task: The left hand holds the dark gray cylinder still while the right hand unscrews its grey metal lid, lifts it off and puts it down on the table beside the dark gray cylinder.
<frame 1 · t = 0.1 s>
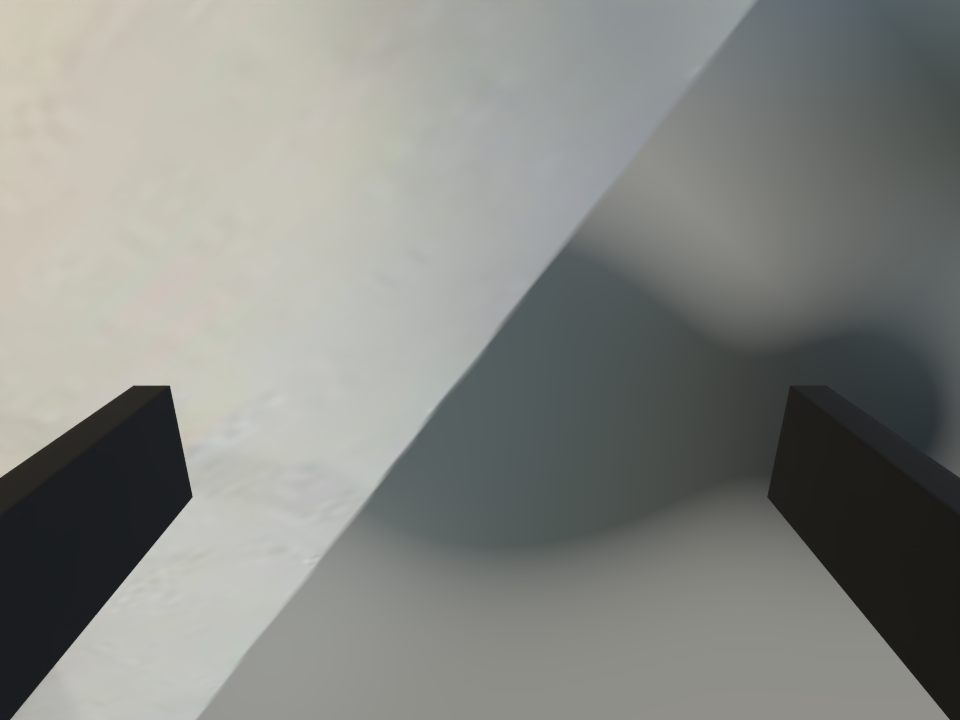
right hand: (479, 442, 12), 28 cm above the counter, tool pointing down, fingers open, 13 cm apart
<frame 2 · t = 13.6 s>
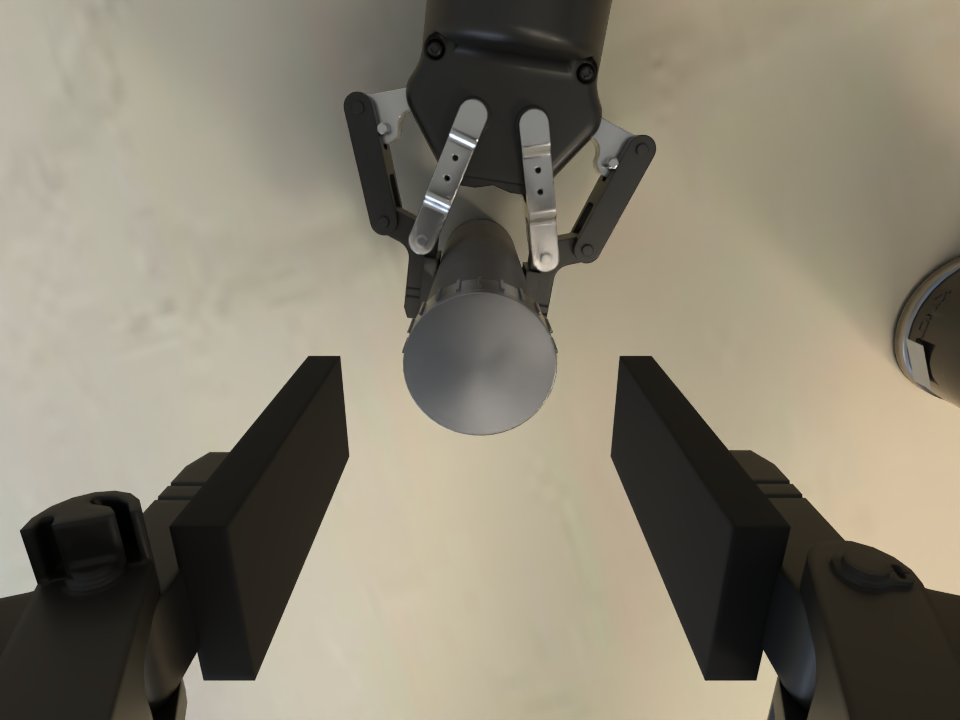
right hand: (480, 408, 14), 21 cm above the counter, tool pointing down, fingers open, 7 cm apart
left hand: (471, 331, 29), fingers closed on dark gray cylinder, 4 cm apart
lid: (480, 363, 17), point 18 cm above the counter, screwed on, not yet turned
dark gray cylinder: (480, 254, 34), on the counter, touching left hand
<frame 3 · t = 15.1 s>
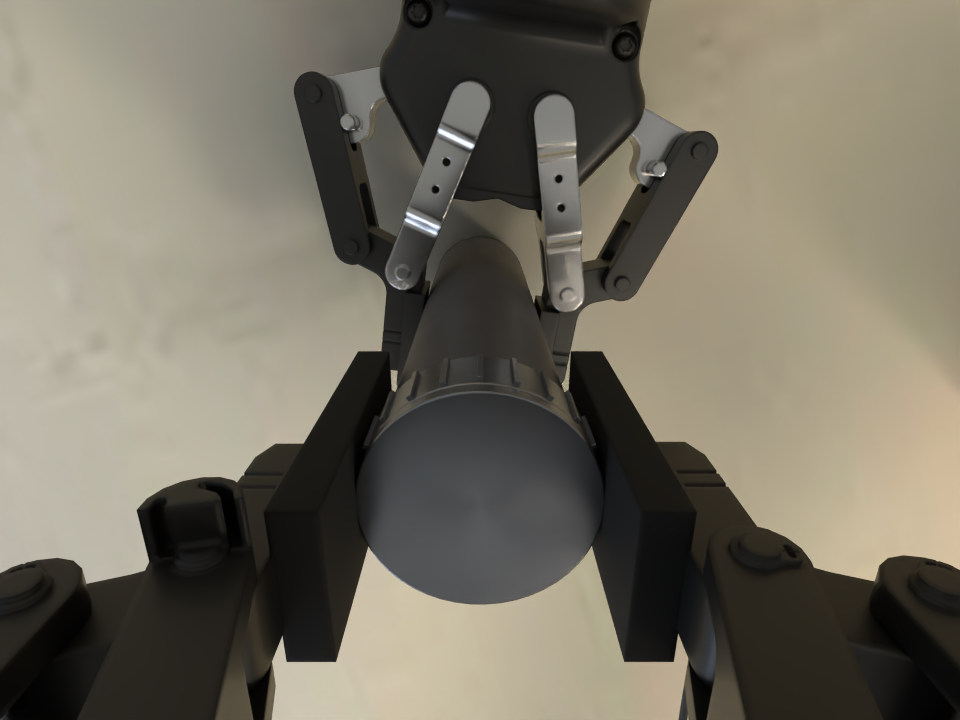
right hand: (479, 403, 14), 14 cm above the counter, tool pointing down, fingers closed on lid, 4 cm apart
left hand: (469, 385, 22), fingers closed on dark gray cylinder, 4 cm apart
lid: (479, 495, 11), point 18 cm above the counter, screwed on, not yet turned, touching right hand
dark gray cylinder: (479, 280, 27), on the counter, touching left hand
when the right hand's fingers open (14 cm above the counter, at t = 16.5 s): lid stays where it is, point 18 cm above the counter.
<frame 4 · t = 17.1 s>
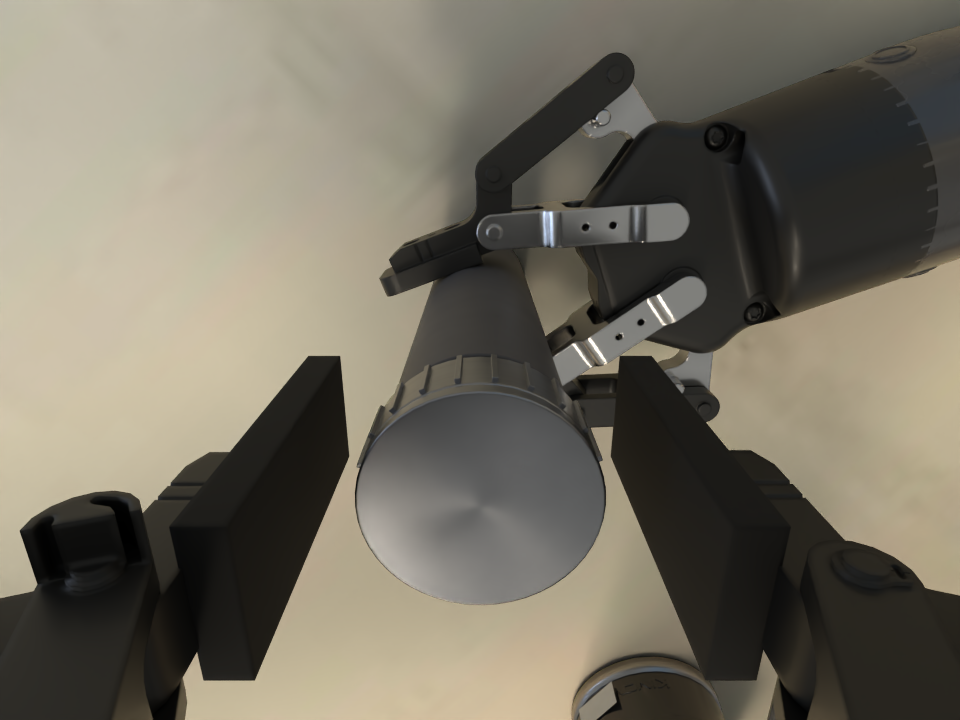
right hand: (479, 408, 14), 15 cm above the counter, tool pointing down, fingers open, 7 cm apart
left hand: (413, 338, 22), fingers closed on dark gray cylinder, 4 cm apart
lid: (480, 495, 11), point 18 cm above the counter, turned 104° so far, risen 0.4 cm, still on its thread
dark gray cylinder: (480, 278, 28), on the counter, touching left hand
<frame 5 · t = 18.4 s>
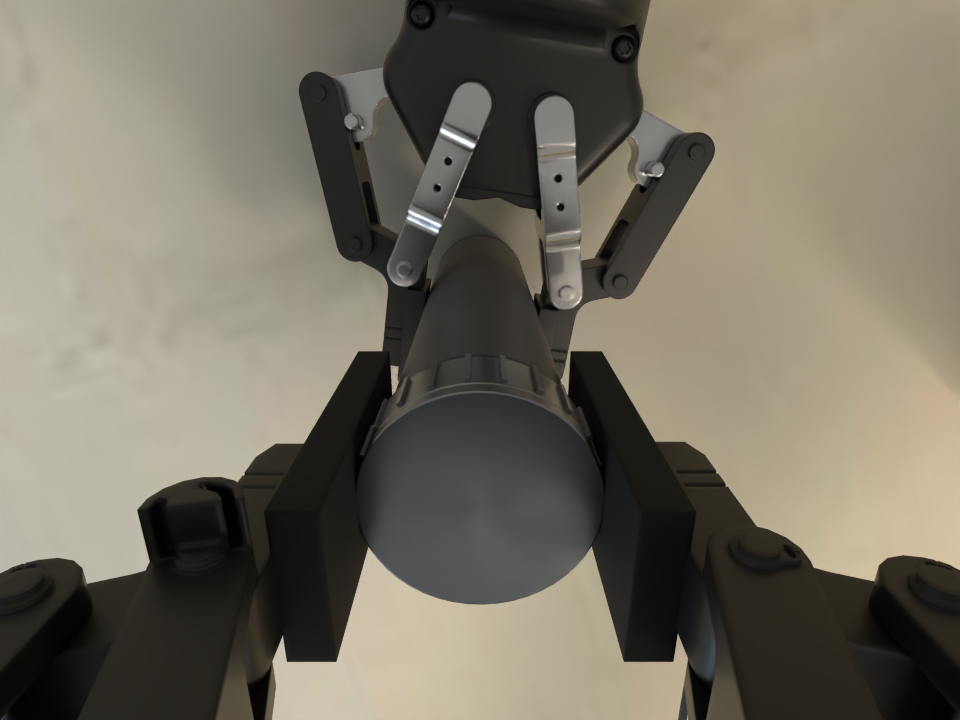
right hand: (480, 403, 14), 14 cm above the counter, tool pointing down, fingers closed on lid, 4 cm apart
left hand: (469, 381, 23), fingers closed on dark gray cylinder, 4 cm apart
lid: (479, 495, 11), point 18 cm above the counter, turned 104° so far, risen 0.4 cm, still on its thread, touching right hand
dark gray cylinder: (480, 278, 28), on the counter, touching left hand
when the right hand's fingers open (0 cm above the counter, at t = 25.1 s): lid drops 3 cm, point 1 cm above the counter.
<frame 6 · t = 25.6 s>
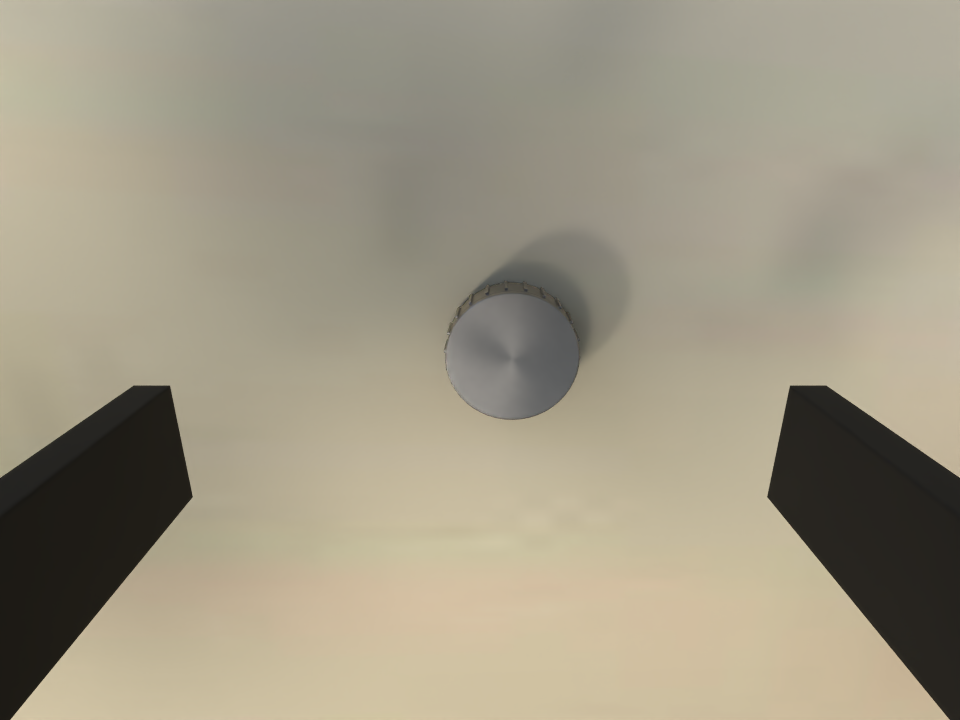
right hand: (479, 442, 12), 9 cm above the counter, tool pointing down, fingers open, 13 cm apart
lid: (511, 355, 19), point 1 cm above the counter, off its thread
when the left hand's fingers open (6 cm above the counter, at t = 25.7 s): dark gray cylinder stays where it is, on the counter.
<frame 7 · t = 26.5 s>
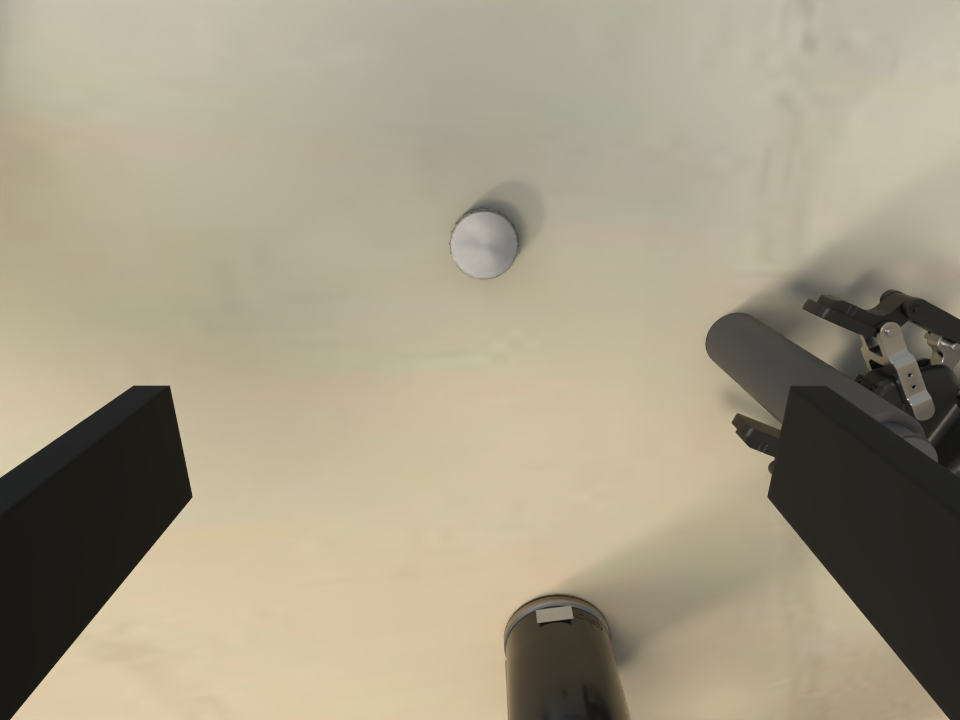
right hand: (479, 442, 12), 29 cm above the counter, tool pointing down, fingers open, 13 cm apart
lid: (484, 245, 38), point 1 cm above the counter, off its thread
dark gray cylinder: (733, 340, 42), on the counter
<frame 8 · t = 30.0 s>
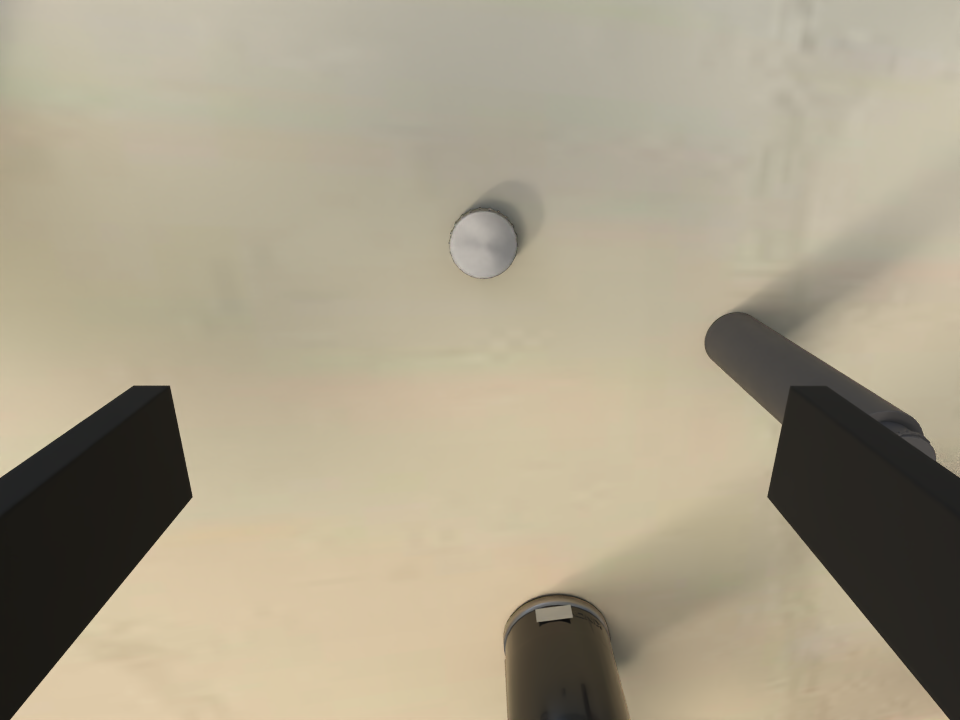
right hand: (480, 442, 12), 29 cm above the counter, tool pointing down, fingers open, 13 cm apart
lid: (483, 244, 38), point 1 cm above the counter, off its thread
dark gray cylinder: (732, 339, 42), on the counter
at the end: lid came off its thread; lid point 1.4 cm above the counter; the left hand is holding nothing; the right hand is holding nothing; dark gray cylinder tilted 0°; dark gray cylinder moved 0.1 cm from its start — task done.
